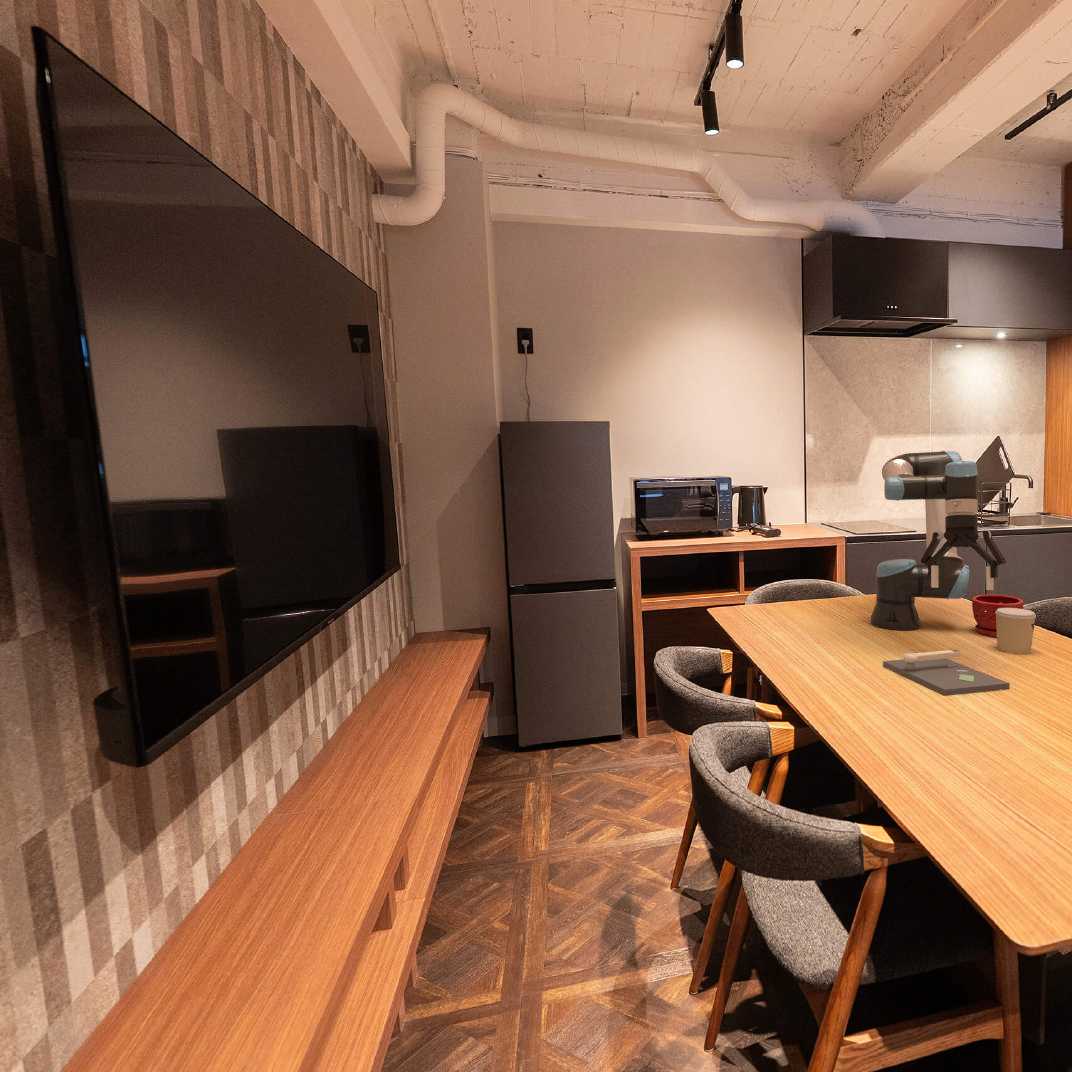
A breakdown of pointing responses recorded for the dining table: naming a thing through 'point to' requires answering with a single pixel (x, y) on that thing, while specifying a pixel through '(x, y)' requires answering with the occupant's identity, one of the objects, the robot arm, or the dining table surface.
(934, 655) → the knob-ended beige rod
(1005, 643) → the coffee cup
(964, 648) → the dining table surface
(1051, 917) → the dining table surface
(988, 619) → the plant pot
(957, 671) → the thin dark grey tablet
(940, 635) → the dining table surface
